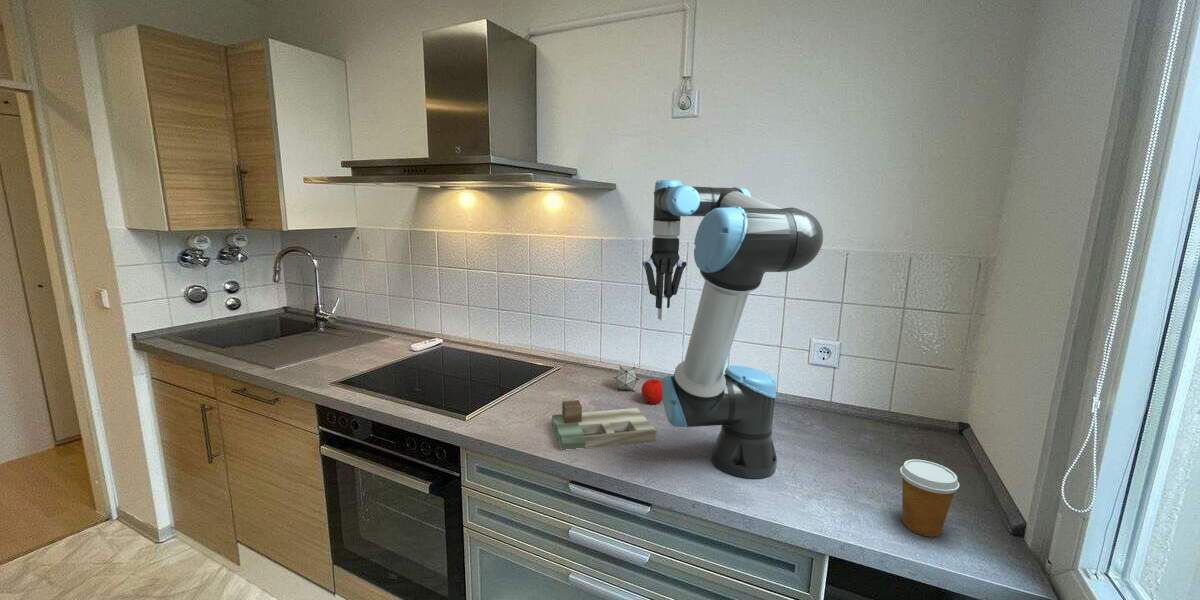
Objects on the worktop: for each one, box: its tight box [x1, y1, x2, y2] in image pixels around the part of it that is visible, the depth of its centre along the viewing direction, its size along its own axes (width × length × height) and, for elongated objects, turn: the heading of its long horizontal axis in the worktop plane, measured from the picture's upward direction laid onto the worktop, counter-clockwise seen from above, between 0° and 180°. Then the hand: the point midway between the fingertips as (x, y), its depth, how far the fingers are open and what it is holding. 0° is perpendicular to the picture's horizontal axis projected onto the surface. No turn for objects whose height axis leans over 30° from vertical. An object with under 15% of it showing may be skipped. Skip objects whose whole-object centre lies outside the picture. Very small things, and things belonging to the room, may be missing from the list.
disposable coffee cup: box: [899, 459, 960, 538], centre depth 95 cm, size 10×10×12 cm
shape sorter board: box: [551, 407, 657, 451], centre depth 132 cm, size 15×25×3 cm, turn 105°
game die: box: [613, 365, 640, 393], centre depth 164 cm, size 9×8×10 cm
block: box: [561, 399, 583, 424], centre depth 133 cm, size 4×4×4 cm
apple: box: [641, 378, 663, 405], centre depth 154 cm, size 8×8×7 cm
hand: (661, 319), depth 141 cm, fingers closed
